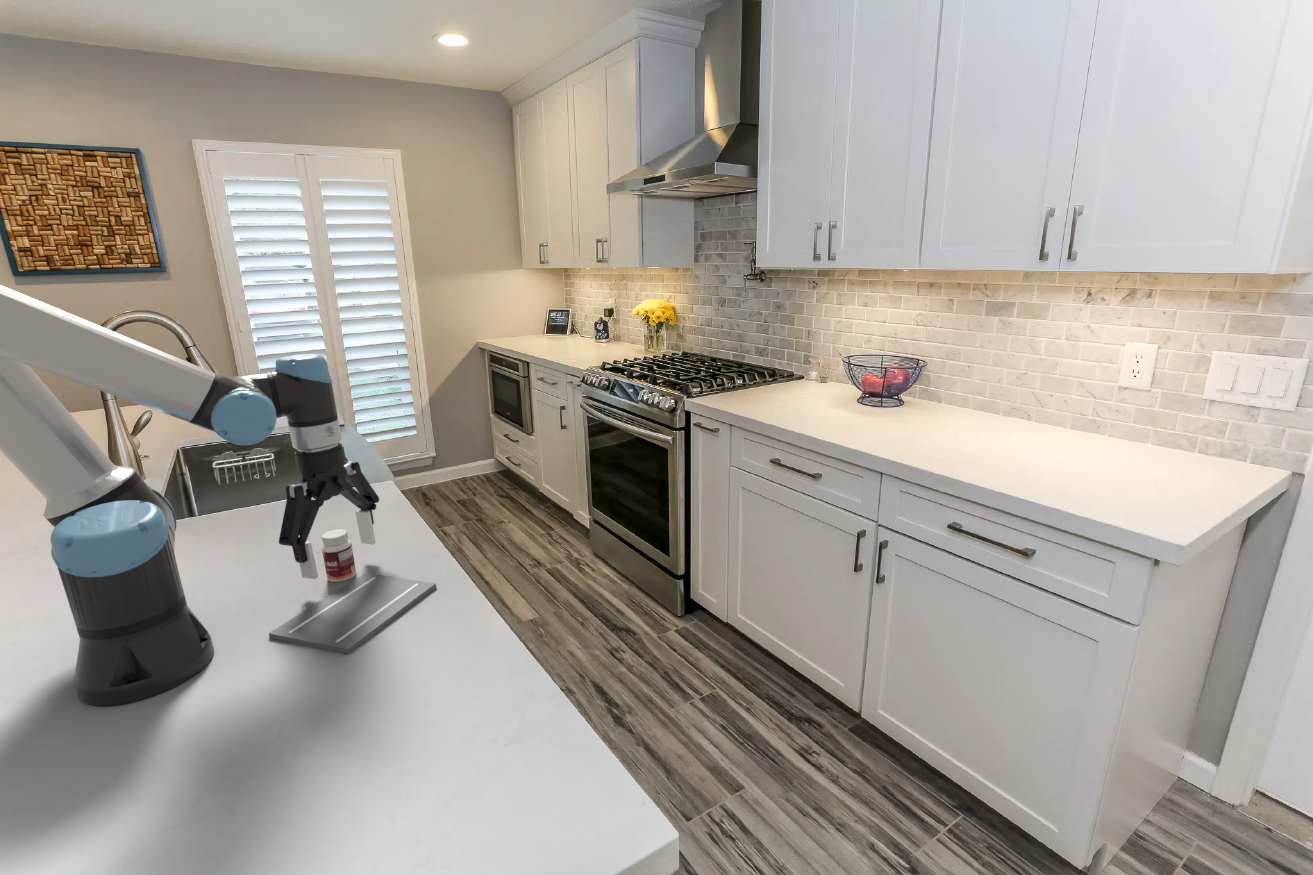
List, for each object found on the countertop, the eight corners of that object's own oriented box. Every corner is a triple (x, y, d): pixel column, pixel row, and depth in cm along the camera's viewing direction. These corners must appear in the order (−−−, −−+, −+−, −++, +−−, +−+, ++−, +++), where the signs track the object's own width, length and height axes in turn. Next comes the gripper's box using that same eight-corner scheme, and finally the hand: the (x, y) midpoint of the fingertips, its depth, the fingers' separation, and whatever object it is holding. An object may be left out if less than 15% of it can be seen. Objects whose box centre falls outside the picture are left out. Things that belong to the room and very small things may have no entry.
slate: (348, 653, 92) (347, 648, 91) (269, 637, 96) (268, 633, 96) (436, 587, 110) (435, 583, 110) (366, 576, 115) (365, 572, 114)
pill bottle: (321, 579, 114) (313, 536, 112) (345, 568, 118) (337, 526, 116) (339, 585, 112) (331, 541, 110) (362, 573, 116) (354, 530, 114)
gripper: (272, 471, 96) (299, 596, 102) (387, 427, 119) (405, 532, 125) (235, 468, 98) (264, 590, 104) (355, 426, 121) (373, 529, 127)
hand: (341, 559), depth 114 cm, fingers open, 13 cm apart
